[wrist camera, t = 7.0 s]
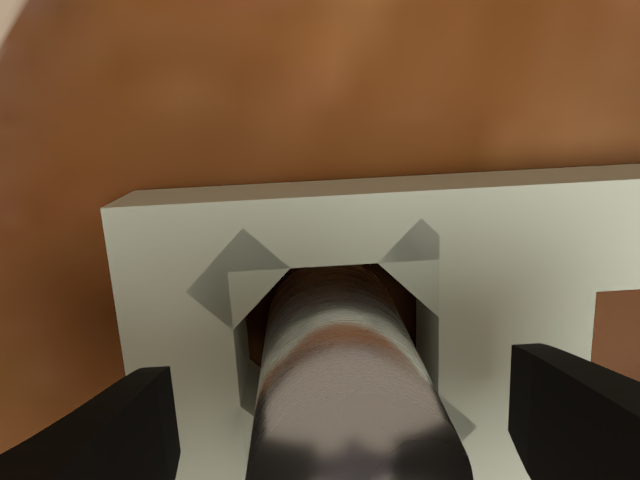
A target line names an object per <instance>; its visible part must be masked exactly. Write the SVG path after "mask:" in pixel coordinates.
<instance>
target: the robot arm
mask: <svg viewBox="0 0 640 480" xmlns="http://www.w3.org/2000/svg"><path fill="white" fill-rule="evenodd" d="M508 432H509V434H510V436H511V439H512V441H513V443H514V446H515V448H516V450H517V453H518V455H519V457H520V459H521V461H522V463H523V466H524V468H525V470H526V472H527V474H528V475H529V477H530V479H531V480H640V382H639V381H636V380H634V379H631V378H629V377H626V376H624V375H621V374H619V373H617V372H614V371H612V370H609V369H607V368H605V367H602V366H600V365H597V364H595V363H593V362H590V361H588V360H586V359H583V358H581V357H578V356H576V355H574V354H571V353H569V352H566V351H563V350H561V349H558V348H555V347H552V346H549V345H546V344H542V343H532V344H516V345H512V347H511V370H510V393H509V416H508ZM180 454H181V449H180V441H179V434H178V426H177V418H176V410H175V402H174V394H173V387H172V379H171V371H170V366H161V367H145V368H139V369H137V370H135V371H133V372H132V373H130V374H128V375H127V376H125V377H123V378H122V379H120V380H119V381H117V382H116V383H114V384H113V385H111V386H110V387H108V388H107V389H105V390H104V391H103V392H101V393H100V394H98V395H97V396H95V397H94V398H92V399H91V400H89V401H88V402H86V403H85V404H83V405H82V406H80V407H79V408H77V409H76V410H74V411H73V412H71V413H70V414H68V415H66V416H65V417H63V418H61V419H60V420H58V421H57V422H55V423H53V424H52V425H50V426H49V427H47V428H45V429H44V430H42V431H40V432H39V433H37V434H36V435H34V436H32V437H31V438H29V439H27V440H26V441H24V442H22V443H20V444H19V445H17V446H15V447H13V448H11V449H9V450H8V451H6V452H4V453H2V454H0V480H175V479H176V474H177V469H178V464H179V459H180Z"/></svg>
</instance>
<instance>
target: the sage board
mask: <svg viewBox="0 0 640 480" xmlns="http://www.w3.org/2000/svg"><path fill="white" fill-rule="evenodd" d="M100 210H101V217H102V223H103V230H104V237H105V243H106V250H107V256H108V263H109V270H110V276H111V283H112V289H113V296H114V302H115V309H116V316H117V322H118V329H119V335H120V342H121V349H122V355H123V362H124V368H125V375H126V376H127V375H128V374H130V373H132V372H133V371H135V370H137V369H139V368H145V367H161V366H170V371H171V379H172V387H173V394H174V402H175V410H176V418H177V426H178V434H179V441H180V449H181V454H180V459H179V464H178V469H177V474H176V479H175V480H245V477H246V470H247V463H248V456H249V448H250V441H251V434H252V427H253V420H254V412H255V405H256V398H257V391H258V384H259V377H260V369H261V367H260V366H258V365H257V364H256V363H254V362H253V361H252V360H251V359H249V347H248V336H247V325H246V316H247V314H248V313H249V312H250V311H251V310H252V309H253V308H254V307H255V306H256V305H257V304H258V303H259V301H260V300H261V299H262V298H263V297H264V296H265V295H266V294H267V293H268V292H269V291H270V290H271V289H272V287H273V286H274V285H275V284H276V283H277V282H278V281H279V280H280V279H281V278H282V277H283V276H284V275H285V273H286V272H287V271H288V270H289V269H290V268H304V267H321V266H339V265H356V264H373V263H378V264H379V265H380V266H381V267H382V268H384V269H385V270H386V271H387V272H388V273H389V274H390V275H391V276H393V277H394V278H395V279H396V280H397V281H398V282H399V283H401V284H402V285H403V286H404V287H405V288H406V289H407V290H408V291H410V292H411V293H412V294H413V295H414V296H415V297H416V350H417V352H418V354H419V356H420V358H421V360H422V362H423V364H424V366H425V369H426V371H427V373H428V375H429V377H430V379H431V381H432V383H433V385H434V387H435V389H436V391H437V393H438V395H439V397H440V399H441V401H442V403H443V405H444V408H445V410H446V412H447V414H448V416H449V418H450V420H451V422H452V424H453V426H454V428H455V430H456V432H457V434H458V436H459V438H460V440H461V442H462V444H463V447H464V449H465V451H466V453H467V455H468V458H469V461H470V464H471V467H472V473H473V479H474V480H531V479H530V477H529V475H528V474H527V472H526V470H525V468H524V466H523V463H522V461H521V459H520V457H519V455H518V453H517V450H516V448H515V446H514V443H513V441H512V439H511V436H510V434H509V432H508V416H509V393H510V370H511V347H512V345H516V344H532V343H542V344H546V345H549V346H552V347H555V348H558V349H561V350H563V351H566V352H569V353H571V354H574V355H576V356H578V357H581V358H583V359H586V360H588V361H590V360H591V348H592V336H593V324H594V312H595V300H596V292H600V291H617V290H633V289H640V164H621V165H603V166H584V167H565V168H546V169H527V170H509V171H490V172H471V173H452V174H433V175H415V176H396V177H377V178H358V179H339V180H321V181H302V182H283V183H264V184H245V185H227V186H208V187H189V188H170V189H151V190H134V191H132V192H131V193H129V194H127V195H125V196H123V197H121V198H119V199H117V200H115V201H113V202H111V203H109V204H107V205H105V206H104V207H102V208H100Z"/></svg>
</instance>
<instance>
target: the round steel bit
mask: <svg viewBox="0 0 640 480" xmlns="http://www.w3.org/2000/svg"><path fill="white" fill-rule="evenodd" d="M245 480H474V479H473V473H472V467H471V464H470V461H469V458H468V455H467V453H466V451H465V449H464V447H463V444H462V442H461V440H460V438H459V436H458V434H457V432H456V430H455V428H454V426H453V424H452V422H451V420H450V418H449V416H448V414H447V412H446V410H445V408H444V405H443V403H442V401H441V399H440V397H439V395H438V393H437V391H436V389H435V387H434V385H433V383H432V381H431V379H430V377H429V375H428V373H427V371H426V369H425V366H424V364H423V362H422V360H421V358H420V356H419V354H418V352H417V350H416V348H415V346H414V344H413V342H412V340H411V338H410V336H409V334H408V332H407V329H406V327H405V325H404V323H403V321H402V319H401V317H400V315H399V313H398V311H397V309H396V307H395V305H394V303H393V301H392V299H391V297H390V295H389V293H388V291H387V289H386V288H385V286H384V285H383V283H382V282H381V281H380V280H379V279H378V278H377V277H376V276H375V275H374V274H373V273H371V272H370V271H368V270H367V269H365V268H363V267H361V266H359V265H357V264H356V265H339V266H321V267H304V268H300V269H298V270H297V271H295V272H294V273H292V274H291V275H290V276H289V277H288V278H286V279H285V280H284V282H283V283H282V284H281V285H280V286H279V288H278V289H277V291H276V292H275V294H274V296H273V298H272V301H271V304H270V307H269V313H268V319H267V326H266V333H265V341H264V348H263V355H262V362H261V369H260V377H259V384H258V391H257V398H256V405H255V412H254V420H253V427H252V434H251V441H250V448H249V456H248V463H247V470H246V477H245Z"/></svg>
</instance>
